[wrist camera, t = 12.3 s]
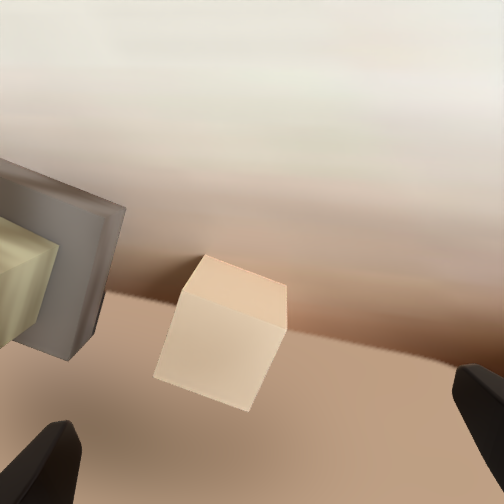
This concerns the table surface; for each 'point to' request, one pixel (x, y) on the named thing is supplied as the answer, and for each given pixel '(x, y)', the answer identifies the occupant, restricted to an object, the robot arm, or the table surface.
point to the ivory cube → (224, 333)
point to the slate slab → (63, 254)
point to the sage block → (22, 277)
